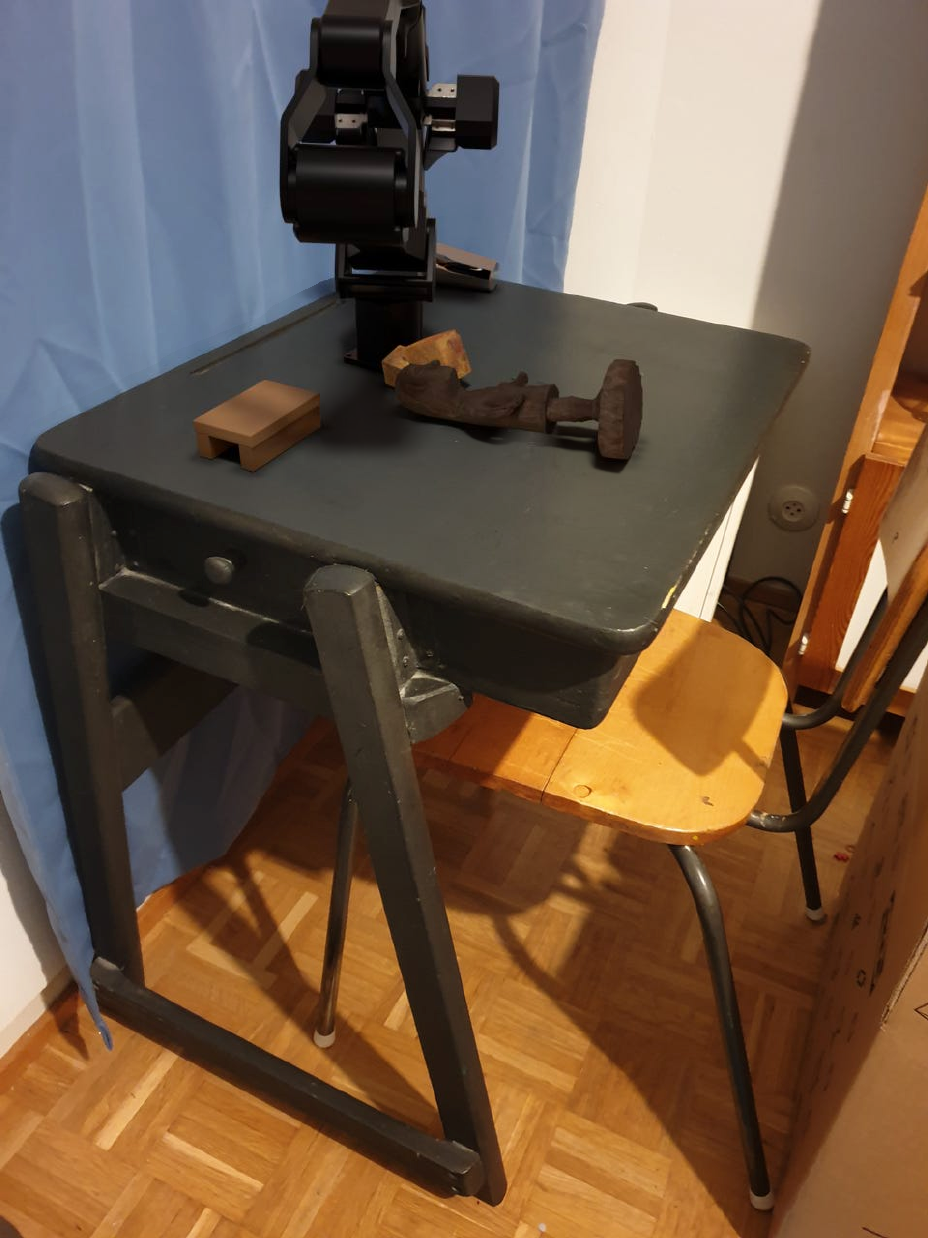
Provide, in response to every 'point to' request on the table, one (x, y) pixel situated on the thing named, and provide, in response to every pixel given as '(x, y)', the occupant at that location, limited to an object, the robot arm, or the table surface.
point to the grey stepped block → (400, 140)
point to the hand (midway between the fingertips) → (403, 165)
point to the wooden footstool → (259, 423)
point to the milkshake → (464, 269)
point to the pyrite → (428, 355)
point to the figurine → (530, 403)
